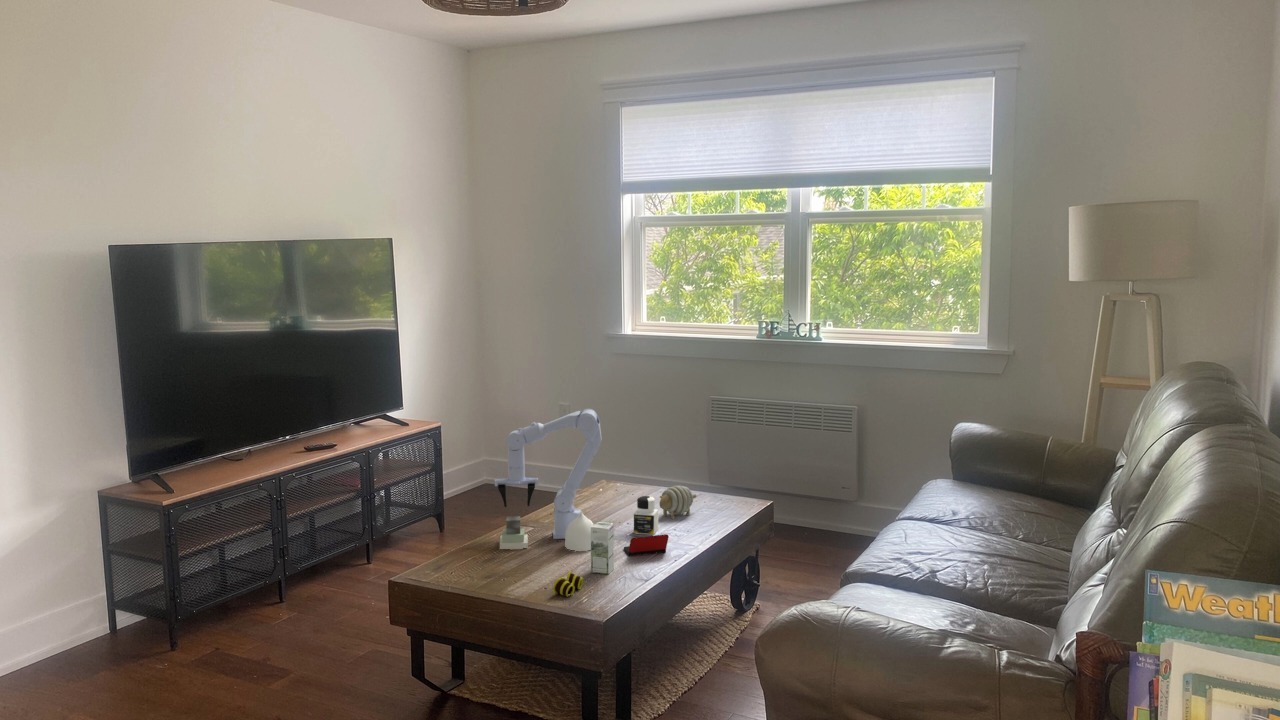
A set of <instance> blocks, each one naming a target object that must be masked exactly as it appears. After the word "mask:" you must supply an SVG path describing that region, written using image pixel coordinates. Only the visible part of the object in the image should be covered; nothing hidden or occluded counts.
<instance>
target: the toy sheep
mask: <svg viewBox="0 0 1280 720" xmlns="http://www.w3.org/2000/svg"><path fill="white" fill-rule="evenodd" d="M659 498H660V499H659V504H658V505H659V507H660V509H662V510H663V512H662V513H663V514H662V515H663V516H664V517H667V514H668V513H669V514H670V518H671V519H672V518H674V519H675V515H676V516H679V515H683V514H685V513H686V516H689V515H690V513H691V509H690V508H691V506H692V505H693V502H694V499H696V498H697V494H695V493H692V490H691V489H689V487H688V486H685V485H684V486H683V485H672V486H671V487H668V488H666V489H665V490H664V491H662V493H661V495H660V496H659Z"/></svg>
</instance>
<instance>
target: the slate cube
mask: <svg viewBox="0 0 1280 720" xmlns="http://www.w3.org/2000/svg"><path fill="white" fill-rule="evenodd" d="M505 519H506V521H505V522H506V523H505V524H506V526H505V527H506V528H505V529H506V534H520V529H521V516H520V515H517V516H514V515H513V516H506V518H505Z"/></svg>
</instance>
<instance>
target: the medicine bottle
mask: <svg viewBox="0 0 1280 720" xmlns="http://www.w3.org/2000/svg"><path fill="white" fill-rule="evenodd" d="M636 505H637V507H636V508H637V510H635V512H634V513H633V533H634V534H638V535H648V536H655V533H657V531H658V529H659V509H658V508H656V506H655V505H656V499H655V498H654V497H653V496H650V495H644V496H643V495H642V496H640V497H637V500H636Z"/></svg>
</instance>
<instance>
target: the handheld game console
mask: <svg viewBox="0 0 1280 720" xmlns="http://www.w3.org/2000/svg"><path fill="white" fill-rule="evenodd" d="M669 538H670V537H669V534H666V533H665V534H657V535H655V534H654V535H647V536H646V535H645V536H636V537H635V536H634V537H632V538H631V539H629V542H630V543H629V545H628V546H624V547H623V551H624V552H625V553H626V554H627V556H628V557H637V556H645V555H656V554H657V555H658V554H665V553H666V552H667V546H668V541H669Z"/></svg>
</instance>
